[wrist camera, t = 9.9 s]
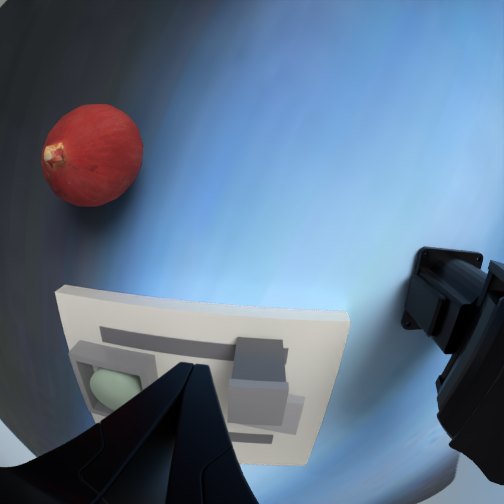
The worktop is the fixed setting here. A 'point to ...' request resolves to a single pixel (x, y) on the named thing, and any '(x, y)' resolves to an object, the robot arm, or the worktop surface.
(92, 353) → the panel
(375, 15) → the worktop surface
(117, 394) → the button green
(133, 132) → the onion
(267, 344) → the slider grey
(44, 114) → the worktop surface
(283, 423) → the rocker grey
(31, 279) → the worktop surface
